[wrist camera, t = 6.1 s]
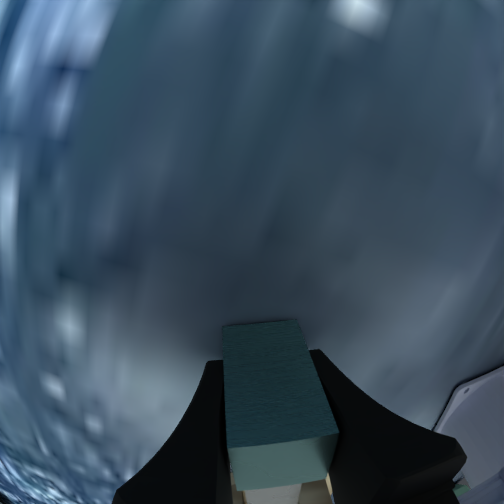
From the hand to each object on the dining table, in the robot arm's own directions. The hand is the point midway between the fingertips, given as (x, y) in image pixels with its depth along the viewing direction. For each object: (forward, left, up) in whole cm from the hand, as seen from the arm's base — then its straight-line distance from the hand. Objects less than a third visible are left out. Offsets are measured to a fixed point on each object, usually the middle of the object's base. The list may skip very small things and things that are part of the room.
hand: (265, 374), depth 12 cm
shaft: (0, +11, -2) cm, 11 cm away
